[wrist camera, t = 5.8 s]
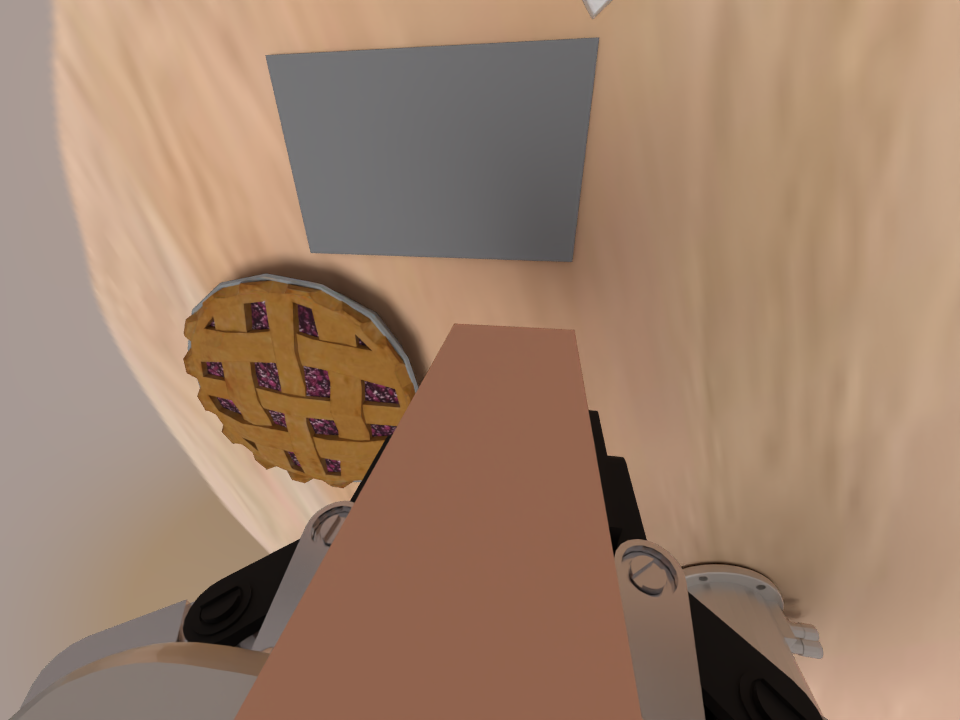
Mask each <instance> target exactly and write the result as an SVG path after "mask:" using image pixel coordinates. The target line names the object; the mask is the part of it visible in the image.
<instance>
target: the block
mask: <svg viewBox="0 0 960 720" xmlns="http://www.w3.org/2000/svg"><path fill="white" fill-rule="evenodd" d="M234 720H642V716H641V710H640V704H639V699H638V693H637V687H636V681H635V676H634V670H633V664H632V658H631V653H630V647H629V641H628V635H627V630H626V624H625V618H624V612H623V607H622V601H621V595H620V589H619V584H618V578H617V572H616V566H615V560H614V555H613V549H612V543H611V537H610V532H609V526H608V520H607V514H606V509H605V503H604V497H603V491H602V486H601V480H600V474H599V468H598V463H597V457H596V451H595V445H594V440H593V434H592V428H591V422H590V417H589V411H588V405H587V399H586V394H585V388H584V382H583V376H582V371H581V365H580V359H579V353H578V348H577V342H576V336H575V330H566V329H546V328H527V327H507V326H488V325H469V324H454V325H453V327H452V329H451V331H450V333H449V334H448V336H447V338H446V340H445V342H444V343H443V345H442V347H441V349H440V350H439V352H438V354H437V356H436V358H435V359H434V361H433V363H432V365H431V367H430V368H429V370H428V372H427V374H426V376H425V377H424V379H423V381H422V383H421V385H420V386H419V388H418V390H417V392H416V394H415V395H414V397H413V399H412V401H411V403H410V404H409V406H408V408H407V410H406V411H405V413H404V415H403V417H402V419H401V420H400V422H399V424H398V426H397V428H396V429H395V431H394V433H393V435H392V437H391V438H390V440H389V442H388V444H387V446H386V447H385V449H384V451H383V453H382V455H381V456H380V458H379V460H378V462H377V464H376V465H375V467H374V469H373V471H372V472H371V474H370V476H369V478H368V480H367V481H366V483H365V485H364V487H363V489H362V490H361V492H360V494H359V496H358V498H357V499H356V501H355V503H354V505H353V507H352V508H351V510H350V512H349V514H348V516H347V517H346V519H345V521H344V523H343V525H342V526H341V528H340V530H339V532H338V534H337V535H336V537H335V539H334V541H333V542H332V544H331V546H330V548H329V550H328V551H327V553H326V555H325V557H324V559H323V560H322V562H321V564H320V566H319V568H318V569H317V571H316V573H315V575H314V577H313V578H312V580H311V582H310V584H309V586H308V587H307V589H306V591H305V593H304V595H303V596H302V598H301V600H300V602H299V603H298V605H297V607H296V609H295V611H294V612H293V614H292V616H291V618H290V620H289V621H288V623H287V625H286V627H285V629H284V630H283V632H282V634H281V636H280V638H279V639H278V641H277V643H276V645H275V647H274V648H273V650H272V652H271V654H270V656H269V657H268V659H267V661H266V663H265V664H264V666H263V668H262V670H261V672H260V673H259V675H258V677H257V679H256V681H255V682H254V684H253V686H252V688H251V690H250V691H249V693H248V695H247V697H246V699H245V700H244V702H243V704H242V706H241V708H240V709H239V711H238V713H237V715H236V717H235V718H234Z"/></svg>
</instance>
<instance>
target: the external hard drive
mask: <svg viewBox="0 0 960 720" xmlns="http://www.w3.org/2000/svg"><path fill="white" fill-rule="evenodd" d="M582 1H583V3H584V5H585V7H586V9H587V10H588V12H589V14H590V16H591V18H592V19H594V18H595V17H596V16H597V15H598V14H599V13H600V12H601V11H602V10H603V9H604V8H605V7H606V6H607V5H608V4H609V3H610V2H611V1H612V0H582Z"/></svg>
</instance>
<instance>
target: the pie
mask: <svg viewBox="0 0 960 720" xmlns="http://www.w3.org/2000/svg"><path fill="white" fill-rule="evenodd" d="M184 335H185V337H186V338H187V339H189V341H188V352H187V354H186V355H185V357H184V358H183V360H184V364H185V368H186V372H187V373H188V374H190V375H192V376H194V377H196V378H197V380H198V383H199V386H200V389H199V393H198V396H197V397H198V398H199V400H200V402H201V403H202V405H203V407H204V408H205V410H206V411H210V412H212V413H214V414H216V415H217V417H218V418H219V419H220V421H221V422H222V423H223V429H222V433H223V434H224V435H225V436H226V437H227V438H228V439H229V440H230V441H231V442H232V443H233V444H235V443H237V444H242V445H244V446H245V447H246V448H248V449H249V450H250V451H252V452H253V455H254V458H255V460H256V461H257V462H258V463H260V464H261V465H262V466H263V467H265V468H266V469H270V468H273V467H275V466H277V467H280V468H282V469H285V470H287V471H288V473H289V475H290V477H291V479H292V480H295V481H299V482H303V483H306V482H308V481H310V480H311V479H313V478H314V479H319V480H323V481H324V482H326V483H327V484H329V485H330V486H332V487H339V488H344V487H346V486H347V485H349V484H350V483H352V482H361V481H362V479H363V478H364V476H365V474H366V472H367V471H368V469H369V467H370V465H371V464H372V462H373V460H374V458H375V457H376V455H377V453H378V451H379V450H380V448H381V446H382V444H383V443H384V441H385V439H386V438H387V436H388V435H390V434H393V433H394V431H395V429H396V428H397V426H398V424H399V422H400V420H401V419H402V417H403V415H404V413H405V411H406V410H407V408H408V406H409V404H410V403H411V401H412V399H413V397H414V395H415V394H416V392H417V390H418V385H417V382H416V379H415V376H414V373H413V370H412V367H411V365H410V362H409V359H408V357H407V355H406V354H405V353H404V351H403V348H402V345H401V344H400V343H399V342H398V340H397V339H396V338H395V336H394V335H393V334H392V332H391V331H390V330H389V328H388V327H387V326H386V324H385V323H384V322H383V321H382V319H381V318H380V317H379V315H378V314H377V313H376V312H374V311H372V310H370V309H368V308H366V307H365V306H363V305H361V304H359V303H357V302H355V301H354V300H352V299H350V298H348V297H346V296H344V295H343V294H341V293H337V292H335V291H333V290H331V289H330V288H328V287H326V286H324V285H323V284H319V283H314V282H309V281H303V280H298V279H293V278H288V277H282V276H277V275H272V274H262V275H257V276H252V277H247V278H242V279H237V280H232V281H227V282H222V283H220V284H219V285H218V286H217V287H215V288H214V289H213V290H212V291H211V292H210V293H209V294H208V295H207V296H206V297H205V298H204V299H203V300H202V301H201V302H200V303H199V304H198V305H197V306H196V307H195V308H194V309H193V310H192V315H191V316H190V317H188V318H187V319H186V322H185V328H184Z"/></svg>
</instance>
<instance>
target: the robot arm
mask: <svg viewBox="0 0 960 720" xmlns="http://www.w3.org/2000/svg"><path fill="white" fill-rule="evenodd" d="M588 411H589V417H590V422H591V428H592V434H593V440H594V445H595V451H596V457H597V463H598V468H599V474H600V480H601V486H602V491H603V497H604V503H605V509H606V514H607V520H608V526H609V532H610V537H611V543H612V549H613V555H614V560H615V566H616V572H617V578H618V584H619V589H620V595H621V601H622V607H623V612H624V618H625V624H626V630H627V635H628V641H629V647H630V653H631V658H632V664H633V670H634V676H635V681H636V687H637V693H638V699H639V704H640V710H641V716H642V720H828V719H826V718H825V717H824V716H823V714H822V712H821V710H820V708H819V706H818V704H817V702H816V700H815V698H814V696H813V694H812V692H811V690H810V688H809V686H808V684H807V682H806V680H805V678H804V676H803V674H802V672H801V670H800V668H799V666H798V664H797V662H796V660H795V658H794V656H793V654H792V653H794V654H798V655H801V656H805V657H811V658H817V659H821V658H823V648H822V646H821V644H820V642H819V641H818V640H819V633H818V631H817V629H816V628H815V626H813V625H811V624H805V623H799V622H798V623H794V622H790V621H789V620H788V619H787V618H785V616H784V614H783V612H782V611H783V609H784V602H783V599H782V596H781V595H780V593H779V591H778V589H777V588H776V586H775V585H774V584H773V583H772V582H771V581H770V580H769V579H768V578H766V577H765V576H763V575H761V574H759V573H757V572H755V571H752V570H750V569H746V568H742V567H739V566H732V565H723V564H708V565H698V566H692V567H688V568H685V569H682V568H681V566H680V565H679V563H678V562H677V560H676V559H675V558H674V557H673V556H672V555H671V554H670V553H669V552H668V551H666V550H665V549H663V548H662V547H661V546H659V545H657V544H655V543H652V542H650V541H647V539H646V535H645V532H644V528H643V524H642V521H641V517H640V513H639V509H638V506H637V502H636V498H635V494H634V491H633V487H632V483H631V479H630V476H629V472H628V468H627V464H626V462H625V459H624V458H623V457H616V456H607V452H606V447H605V443H604V438H603V433H602V428H601V424H600V419H599V414H598V411H592V410H588ZM392 435H393V434H390V435H388V436H387V438H386V439H385V441H384V443H383V444H382V446H381V448H380V450H379V451H378V453H377V455H376V457H375V458H374V460H373V462H372V464H371V465H370V467H369V469H368V471H367V472H366V474H365V476H364V478H363V479H362V481H361V483H360V485H359V486H358V488H357V490H356V492H355V493H354V495H353V497H352V499H351V500H350V501H340V502H335V503H332V504H330V505H327V506H325V507H324V508H322V509H321V510H319V511H318V512H317V513H316V514H315V515H314V516H313V517H312V518H311V519H310V520H309V522H308V524H307V525H306V527H305V529H304V532H303V534H302V536H301V538H300V539H299V540H297V541H295V542H293V543H291V544H289V545H287V546H285V547H283V548H281V549H279V550H277V551H275V552H273V553H271V554H269V555H268V556H266V557H264V558H262V559H260V560H258V561H256V562H255V563H252V564H250V565H248V566H246V567H244V568H242V569H240V570H239V571H237V572H235V573H233V574H231V575H229V576H227V577H225V578H223V579H221V580H220V581H218V582H216V583H215V584H213V585H212V586H210V587H209V588H208V589H207V590H205V591H204V592H203V593H202V594H201V595H200V596H199V597H198V598H197V600H196V601H195V602H192V603H189V602H188V601H187V600H184V601H181V602H179V603H176V604H173V605H171V606H168V607H165V608H163V609H160V610H157V611H155V612H152V613H149V614H146V615H144V616H141V617H139V618H136V619H133V620H130V621H128V622H125V623H122V624H120V625H117V626H114V627H112V628H109V629H106V630H104V631H101V632H98V633H96V634H93V635H90V636H88V637H86V638H84V639H82V640H80V641H78V642H76V643H74V644H72V645H70V646H69V647H68V648H66V649H65V650H64V651H62V652H61V653H60V654H58V655H57V656H56V657H55V658H54V659H53V660H52V661H51V662H50V663H49V664H48V665H47V666H46V667H45V668H44V669H43V670H42V671H41V673H40V674H39V676H38V677H37V679H36V680H35V681H34V683H33V684H32V686H31V688H30V690H29V692H28V694H27V696H26V698H25V700H24V702H23V704H22V706H21V708H20V710H19V711H18V712H17V713H16V714H14V715H13V716H12V717H11V718H10V719H9V720H234V718H235V717H236V715H237V713H238V711H239V709H240V708H241V706H242V704H243V702H244V700H245V699H246V697H247V695H248V693H249V691H250V690H251V688H252V686H253V684H254V682H255V681H256V679H257V677H258V675H259V673H260V672H261V670H262V668H263V666H264V664H265V663H266V661H267V659H268V657H269V656H270V654H271V652H272V650H273V648H274V647H275V645H276V643H277V641H278V639H279V638H280V636H281V634H282V632H283V630H284V629H285V627H286V625H287V623H288V621H289V620H290V618H291V616H292V614H293V612H294V611H295V609H296V607H297V605H298V603H299V602H300V600H301V598H302V596H303V595H304V593H305V591H306V589H307V587H308V586H309V584H310V582H311V580H312V578H313V577H314V575H315V573H316V571H317V569H318V568H319V566H320V564H321V562H322V560H323V559H324V557H325V555H326V553H327V551H328V550H329V548H330V546H331V544H332V542H333V541H334V539H335V537H336V535H337V534H338V532H339V530H340V528H341V526H342V525H343V523H344V521H345V519H346V517H347V516H348V514H349V512H350V510H351V508H352V507H353V505H354V503H355V501H356V499H357V498H358V496H359V494H360V492H361V490H362V489H363V487H364V485H365V483H366V481H367V480H368V478H369V476H370V474H371V472H372V471H373V469H374V467H375V465H376V464H377V462H378V460H379V458H380V456H381V455H382V453H383V451H384V449H385V447H386V446H387V444H388V442H389V440H390V438H391V437H392Z"/></svg>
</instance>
